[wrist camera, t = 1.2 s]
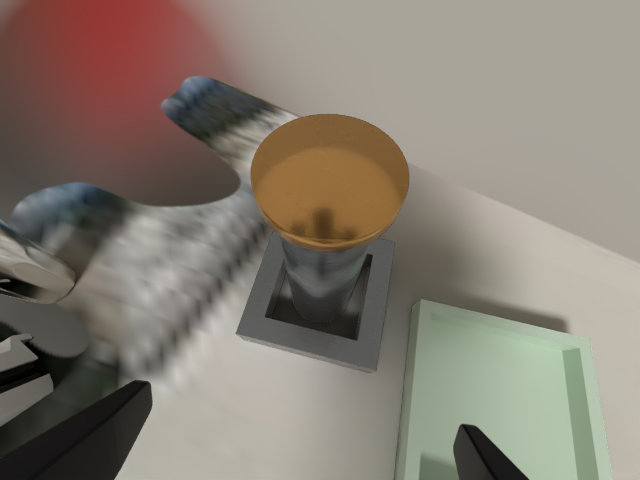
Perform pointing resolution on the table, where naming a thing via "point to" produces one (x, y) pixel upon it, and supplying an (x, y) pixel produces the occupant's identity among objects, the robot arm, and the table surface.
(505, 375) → the tray
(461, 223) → the table surface
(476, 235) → the table surface
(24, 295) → the milkshake
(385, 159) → the grey and gold cylinder
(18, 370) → the grey arched block
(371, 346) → the frame
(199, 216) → the table surface
